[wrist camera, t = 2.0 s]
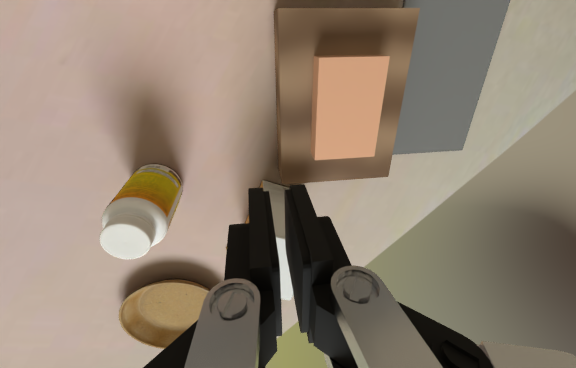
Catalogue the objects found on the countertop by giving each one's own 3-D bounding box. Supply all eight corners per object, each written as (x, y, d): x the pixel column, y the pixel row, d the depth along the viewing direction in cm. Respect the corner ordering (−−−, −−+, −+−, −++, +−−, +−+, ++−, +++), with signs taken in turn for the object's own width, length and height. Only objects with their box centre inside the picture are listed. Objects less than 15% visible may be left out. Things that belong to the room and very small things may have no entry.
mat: (404, -2, 26) (405, -2, 26) (508, -1, 27) (510, -2, 27) (378, 154, 34) (379, 155, 34) (460, 149, 35) (462, 150, 35)
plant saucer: (130, 335, 44) (124, 351, 42) (120, 267, 37) (111, 282, 35) (224, 332, 47) (223, 348, 45) (230, 269, 40) (229, 283, 38)
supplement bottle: (130, 159, 30) (81, 212, 21) (183, 164, 31) (158, 216, 22) (135, 202, 33) (93, 266, 24) (184, 205, 34) (162, 267, 25)
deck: (273, 11, 25) (278, 8, 22) (397, 11, 27) (420, 8, 23) (278, 168, 33) (282, 184, 29) (373, 162, 34) (388, 176, 31)
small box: (262, 178, 33) (268, 233, 24) (303, 190, 35) (324, 246, 26) (241, 228, 37) (239, 294, 27) (280, 238, 38) (290, 302, 29)
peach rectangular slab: (313, 55, 24) (319, 57, 22) (379, 54, 24) (389, 56, 23) (310, 152, 28) (314, 160, 26) (366, 149, 29) (374, 156, 27)
